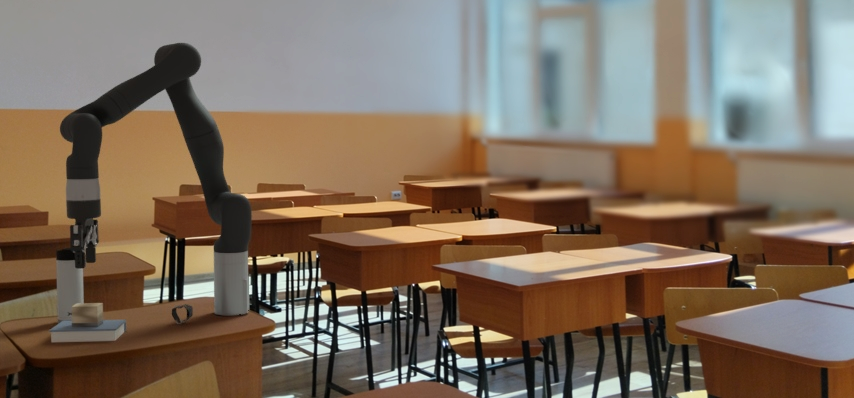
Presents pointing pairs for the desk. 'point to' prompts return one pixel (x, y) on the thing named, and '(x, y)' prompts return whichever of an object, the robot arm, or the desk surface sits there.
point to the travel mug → (68, 284)
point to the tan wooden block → (87, 314)
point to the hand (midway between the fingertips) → (85, 265)
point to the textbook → (88, 332)
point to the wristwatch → (189, 313)
